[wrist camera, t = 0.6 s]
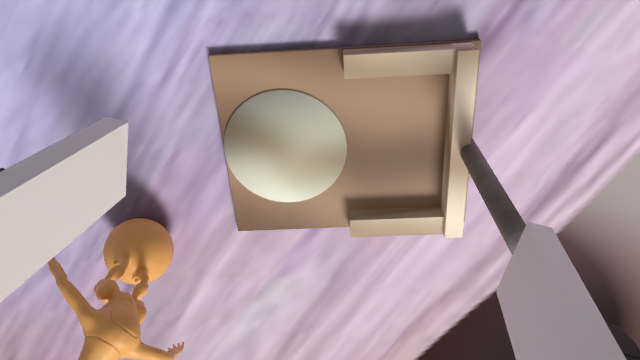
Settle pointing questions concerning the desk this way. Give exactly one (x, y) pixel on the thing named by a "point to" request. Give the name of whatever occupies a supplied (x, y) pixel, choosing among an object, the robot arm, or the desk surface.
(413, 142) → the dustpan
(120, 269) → the figurine
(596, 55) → the desk surface
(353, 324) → the desk surface
